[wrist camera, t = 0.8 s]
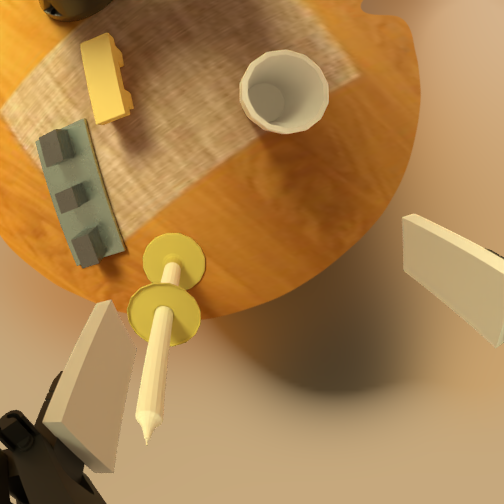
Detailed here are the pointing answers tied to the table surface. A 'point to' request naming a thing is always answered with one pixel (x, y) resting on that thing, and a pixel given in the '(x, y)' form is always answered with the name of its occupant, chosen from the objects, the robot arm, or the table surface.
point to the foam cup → (284, 92)
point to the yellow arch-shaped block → (105, 79)
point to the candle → (164, 316)
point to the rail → (79, 194)
